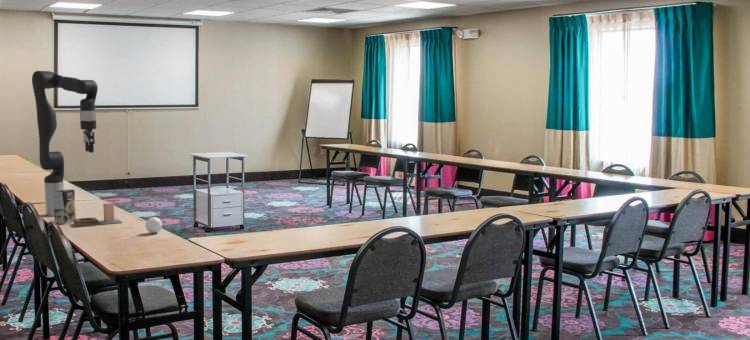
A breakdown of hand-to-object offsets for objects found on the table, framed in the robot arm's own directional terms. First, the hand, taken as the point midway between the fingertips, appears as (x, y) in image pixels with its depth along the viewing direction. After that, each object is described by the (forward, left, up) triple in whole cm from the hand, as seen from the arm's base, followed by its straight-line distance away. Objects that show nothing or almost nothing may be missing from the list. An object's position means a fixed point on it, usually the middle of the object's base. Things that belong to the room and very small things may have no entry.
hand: (89, 151), depth 403 cm
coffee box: (+5, -14, -34) cm, 37 cm away
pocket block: (+17, -6, -34) cm, 39 cm away
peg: (+17, +4, -34) cm, 38 cm away
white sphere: (+57, +15, -34) cm, 68 cm away
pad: (+17, +4, -34) cm, 38 cm away
